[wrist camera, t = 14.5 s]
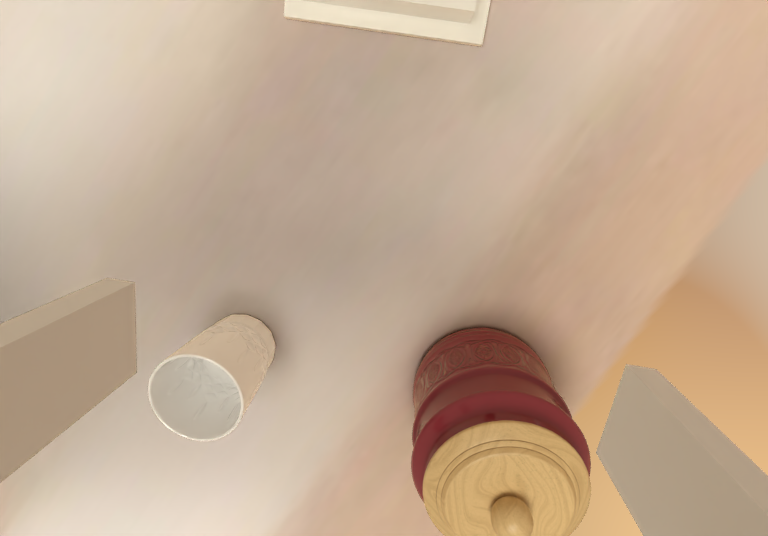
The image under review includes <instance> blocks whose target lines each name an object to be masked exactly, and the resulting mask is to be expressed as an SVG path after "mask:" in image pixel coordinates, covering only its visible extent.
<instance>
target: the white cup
mask: <svg viewBox="0 0 768 536" xmlns="http://www.w3.org/2000/svg"><path fill="white" fill-rule="evenodd" d="M275 347H276V345H275V342H274V339H273V336H272V333H271V331H270V330H269V329H268V328H267V327H266V326H265V325H264V324H263V322H262V321H260V320H258V319H256V318H254V317H251V316H249V315H245V314H232V315H230V316H228V317H225V318H223V319H221V320H219V321H218V322H217V323H215V324H214V325H213V326H211V327H209V328H207V329H206V330H204V331H203V332H202V333H200V334H199V335H197V336H196V337H194V338H193V339H192V340H190V341H189V342H188V343H186V344H185V345H184V346H183V347H181V348H180V349H179V350H177V351H176V352H175V353H173V354H172V355H171V356H169V357H168V358H167V359H165V360H164V361H162V362H161V363H160V364H159V365H158V366H157V367H156V368H155V369H154V371H153V372H152V374H151V376H150V379H149V382H148V398H149V402H150V405H151V408H152V410H153V412H154V413H155V415H156V417H157V418H158V419H159V420H160V422H161V423H162V424H163V425H164V426H166V427H167V428H168V429H169V430H171V431H172V432H174V433H175V434H177V435H179V436H181V437H184V438H187V439H190V440H195V441H213V440H217V439H220V438H222V437H225V436H226V435H228V434H229V433H231V432H232V431H233V430H234V429H235V428H236V427H237V425H238V424H239V422H240V420H241V419H242V417H243V415H244V413H245V411H246V410H247V408H248V406H249V404H250V403H251V401H252V399H253V397H254V396H255V394H256V392H257V390H258V389H259V386H260V384H261V382H262V381H263V379H264V377H265V375H266V372H267V369H268V368H269V366H270V364H271V363H272V361H273V359H274V353H275Z"/></svg>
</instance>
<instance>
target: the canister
mask: <svg viewBox="0 0 768 536" xmlns="http://www.w3.org/2000/svg"><path fill="white" fill-rule="evenodd" d="M413 402H414V408H415V420H414V424H413V432H412V441H413V452H412V459H411V470H412V477H413V481H414V484H415V487H416V489H417V492H418V494H419V496H420V497H421V499H422V501H423V502H424V503H425V507H426V510H427V512H428V514H429V516H430V518H431V520H432V522H433V523H434V524H435V526H436V527H437V528H438V529H439V531H440V532H441V533H442V534H443V535H445V536H569V535H570V534H571V533H572V532H573V531H574V530H575V529H576V528H577V527H578V525H579V524H580V523H581V521H582V519H583V517H584V516H585V514H586V511H587V509H588V506H589V501H590V495H591V484H590V478H589V476H590V468H591V467H590V466H591V462H590V453H589V448H588V445H587V442H586V439H585V437H584V435H583V433H582V432H581V430H580V429H579V427H578V426H577V424H576V423H575V422H574V421H573V419H572V416H571V414H570V411H569V409H568V407H567V405H566V403H565V402H564V400H563V399H562V397H561V396H560V395H559V394H558V393H557V392H556V390H555V388H554V386H553V384H552V383H551V379H550V376H549V373H548V371H547V369H546V367H545V366H544V364H543V362H542V361H541V359H540V358H539V356H538V355H537V354H536V353H535V352H534V351H533V350H532V349H531V348H530V347H529V346H528V345H526V344H525V343H524V342H522V341H521V340H520V339H518V338H517V337H515V336H513V335H511V334H509V333H507V332H504V331H501V330H497V329H492V328H469V329H464V330H460V331H457V332H454V333H452V334H450V335H448V336H446V337H444V338H443V339H441V340H440V341H438V342H437V343H436V344H435V345H434V346H433V347H432V348H431V349H430V350H429V351H428V352H427V353H426V355H425V356H424V358H423V360H422V362H421V364H420V366H419V368H418V370H417V373H416V376H415V380H414V387H413Z"/></svg>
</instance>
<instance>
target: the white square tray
mask: <svg viewBox="0 0 768 536" xmlns="http://www.w3.org/2000/svg"><path fill="white" fill-rule="evenodd" d="M490 2H491V0H285V5H284V17H285V18H286V19H291V20H298V21H305V22H312V23H319V24H326V25H333V26H340V27H347V28H354V29H361V30H368V31H375V32H382V33H389V34H396V35H403V36H410V37H417V38H424V39H431V40H438V41H445V42H452V43H459V44H466V45H473V46H480V47H481V46H482V44H483V39H484V33H485V28H486V23H487V18H488V12H489V7H490Z"/></svg>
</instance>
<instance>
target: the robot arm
mask: <svg viewBox="0 0 768 536" xmlns="http://www.w3.org/2000/svg"><path fill="white" fill-rule="evenodd" d="M136 373H137V363H136V312H135V282H130V281H124V280H118V279H112V278H106V279H103V280H101V281H99V282H96V283H94V284H92V285H89V286H87V287H85V288H82V289H80V290H78V291H75V292H73V293H71V294H68V295H66V296H64V297H61V298H59V299H57V300H54V301H52V302H50V303H47V304H45V305H43V306H40V307H38V308H36V309H33V310H31V311H29V312H26V313H24V314H22V315H19V316H17V317H15V318H12V319H10V320H8V321H5V322H3V323H1V324H0V483H1V482H2V481H3V480H4V479H6V478H7V477H8V476H9V475H11V474H12V473H13V472H14V471H16V470H17V469H18V468H19V467H20V466H22V465H23V464H24V463H25V462H27V461H28V460H29V459H30V458H32V457H33V456H34V455H35V454H37V453H38V452H39V451H40V450H42V449H43V448H44V447H45V446H46V445H48V444H49V443H50V442H51V441H53V440H54V439H55V438H56V437H58V436H59V435H60V434H61V433H63V432H64V431H65V430H66V429H67V428H69V427H70V426H71V425H72V424H74V423H75V422H76V421H77V420H79V419H80V418H81V417H82V416H84V415H85V414H86V413H87V412H89V411H90V410H91V409H92V408H93V407H95V406H96V405H97V404H98V403H100V402H101V401H102V400H103V399H105V398H106V397H107V396H108V395H110V394H111V393H112V392H113V391H114V390H116V389H117V388H118V387H119V386H121V385H122V384H123V383H124V382H126V381H127V380H128V379H129V378H131V377H132V376H133V375H134V374H136ZM596 453H597V455H598V457H599V459H600V460H601V462H602V464H603V466H604V467H605V469H606V471H607V472H608V474H609V476H610V478H611V479H612V481H613V483H614V485H615V487H616V488H617V490H618V492H619V494H620V495H621V497H622V499H623V501H624V502H625V504H626V506H627V508H628V509H629V511H630V513H631V515H632V517H633V518H634V520H635V522H636V524H637V525H638V527H639V529H640V531H641V532H642V534H643V536H768V476H767V475H766V474H765V473H764V472H763V471H762V470H761V469H760V468H759V467H758V466H757V465H756V464H755V463H754V462H753V461H752V460H751V459H749V457H747V456H746V455H745V454H744V453H743V452H742V451H741V450H740V449H739V448H738V447H737V446H736V445H735V444H734V443H733V442H732V441H731V440H730V439H729V438H728V437H726V436H725V435H724V434H723V433H722V432H721V431H720V430H719V429H718V428H717V427H716V426H715V425H714V424H713V423H712V422H711V421H710V420H709V419H708V418H707V417H706V416H705V415H703V414H702V413H701V412H700V411H699V410H698V409H697V408H696V407H695V406H694V405H693V404H692V403H691V402H690V401H689V400H688V399H687V398H686V397H685V396H684V395H682V393H680V392H679V391H678V390H677V389H676V388H675V387H674V386H673V385H672V384H671V383H670V382H669V381H668V380H667V379H666V378H665V377H664V376H663V375H662V374H660V372H658V371H657V370H656V369H652V368H645V367H640V366H634V365H628V364H626V366H625V369H624V372H623V375H622V378H621V381H620V384H619V387H618V390H617V393H616V396H615V398H614V401H613V404H612V407H611V410H610V413H609V416H608V419H607V422H606V425H605V428H604V431H603V434H602V437H601V440H600V443H599V446H598V448H597V452H596Z"/></svg>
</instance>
